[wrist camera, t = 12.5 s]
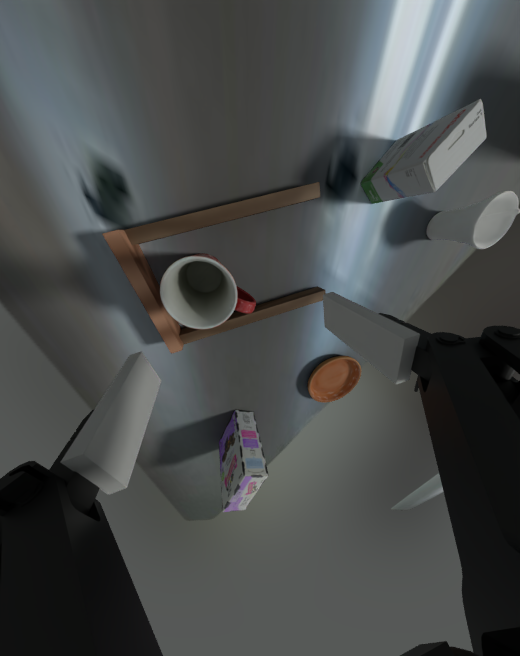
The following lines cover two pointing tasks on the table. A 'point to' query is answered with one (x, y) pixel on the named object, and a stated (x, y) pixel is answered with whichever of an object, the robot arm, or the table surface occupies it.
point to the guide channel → (129, 239)
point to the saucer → (334, 378)
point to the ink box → (426, 156)
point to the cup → (476, 221)
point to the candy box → (241, 461)
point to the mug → (202, 292)
